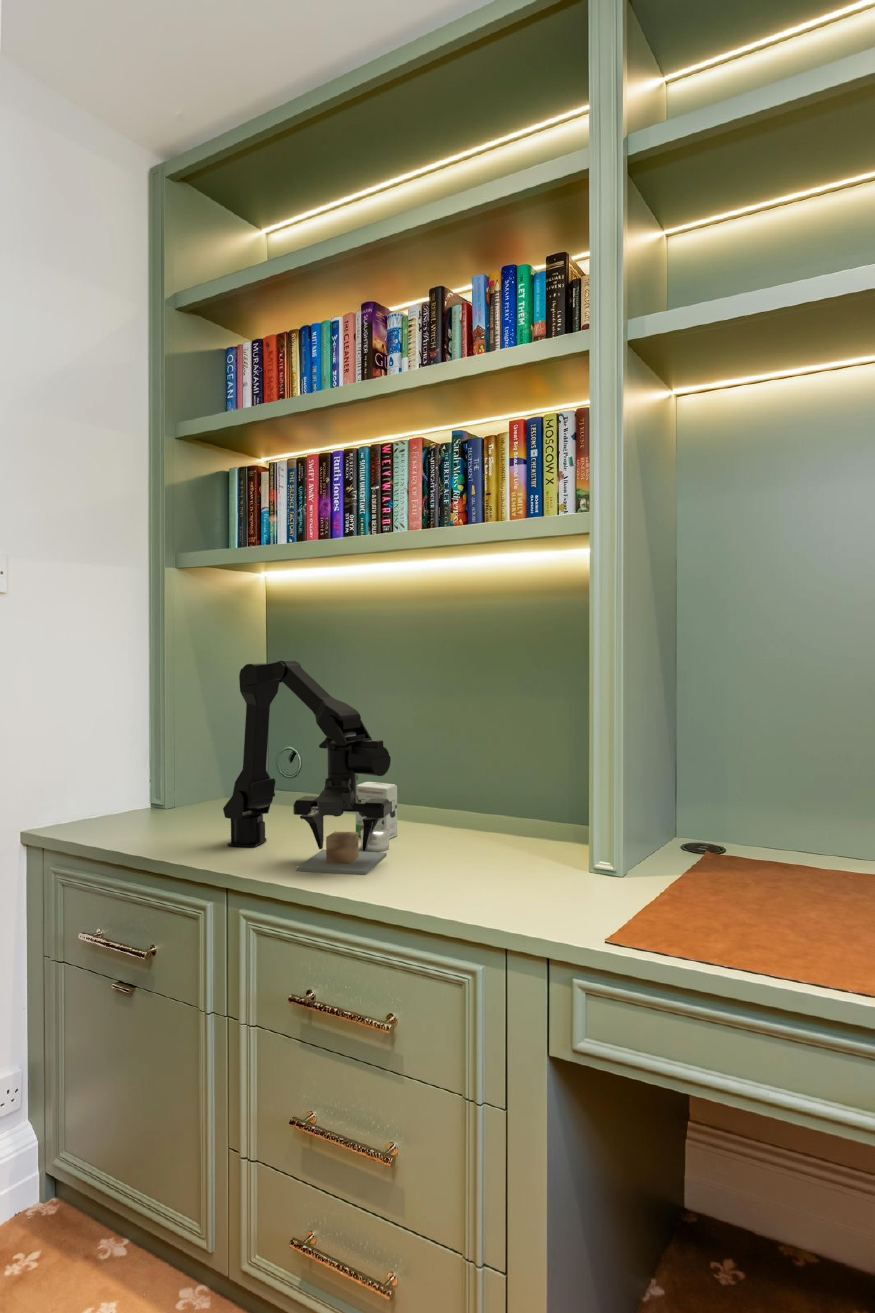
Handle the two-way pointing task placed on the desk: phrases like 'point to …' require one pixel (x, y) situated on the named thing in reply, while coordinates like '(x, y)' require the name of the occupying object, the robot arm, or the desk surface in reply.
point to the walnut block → (342, 847)
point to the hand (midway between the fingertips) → (342, 849)
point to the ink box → (378, 792)
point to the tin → (377, 840)
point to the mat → (356, 867)
